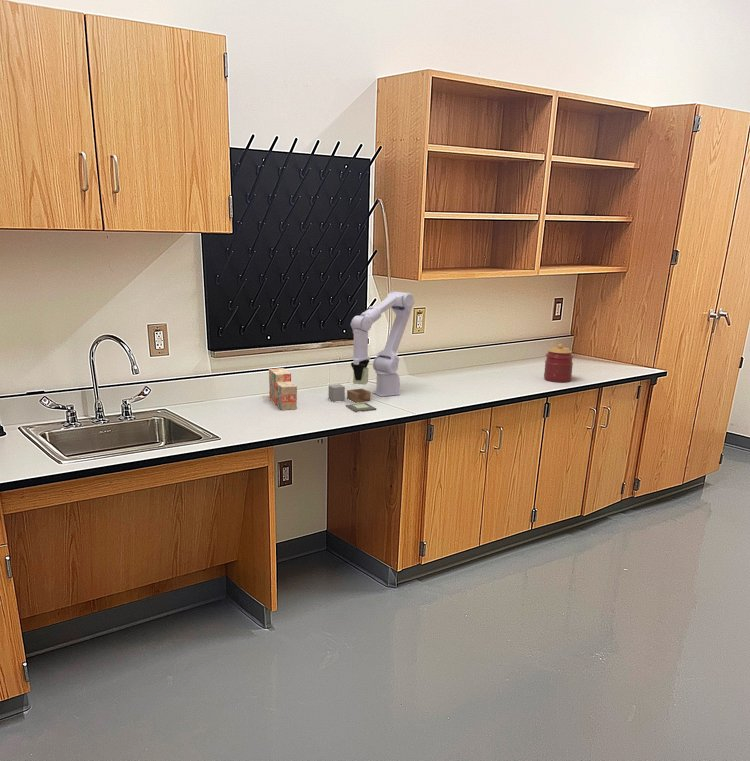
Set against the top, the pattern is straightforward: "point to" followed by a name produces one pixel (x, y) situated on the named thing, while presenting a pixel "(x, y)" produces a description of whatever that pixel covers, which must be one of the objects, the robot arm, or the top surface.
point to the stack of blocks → (282, 389)
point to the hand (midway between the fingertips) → (360, 378)
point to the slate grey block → (336, 393)
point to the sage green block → (364, 377)
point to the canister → (558, 364)
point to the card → (360, 407)
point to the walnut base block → (358, 395)
